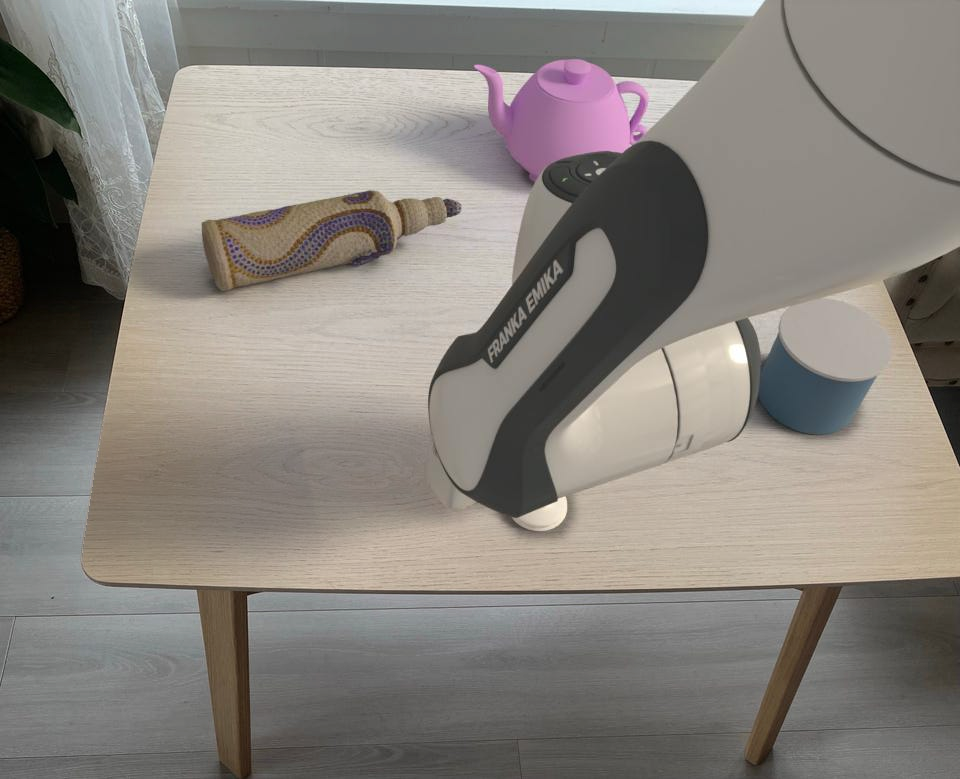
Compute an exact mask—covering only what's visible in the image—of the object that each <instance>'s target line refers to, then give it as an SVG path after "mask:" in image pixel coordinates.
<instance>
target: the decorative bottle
mask: <svg viewBox="0 0 960 779" xmlns="http://www.w3.org/2000/svg"><path fill="white" fill-rule="evenodd" d="M462 208H463V207H462V204H461V203H460V202H459V201H458V200H454V199H451V198H444V199H443V198H442V197H440V196H434V197H431V198H430V197H428V198H424V199H418V198H402V199H397V200H395V201H392V202H391V201H390V200H389V199H387V198H386V196H384V195H383V194H382V193H381V191H379V190H372V189H369V190H366V191H360V192H354V193H348V194H344V195H339V196H335V197H334V196H333V197H330V198H324V199H318V200H314V201H308V202H303V203H299V204H293V205H285V206H282V207H279V208H274V209H268V210H267V209H266V210H260V211H253V212H249V213H245V214H241V215H238V216H237V215H236V216H235V215H234V216H230V217H227V218H226V217H225V218H220V219H207V220H205V221H202V222H201V225H200V226H201V239H202V245H203V251H204V254H205V257H206V261H207V264H208V269H209V271H210V275H211V276H212V279H213V281H214V283H215V286H216V288H218V290H220V291H221V292H222V291H223V292H225V291H230V290H232V289H234V288H238V287H243V286H250V285H253V284H254V285H255V284H258V283H264V282H265V283H266V282H268V281H273V280H276V279H284V278H287V277H290V276H296V275H300V274H305V273H309V272H315V271H317V270H318V271H319V270H323V269H326V268H332V267H336V266H341V265H346V264H351V265H352V266H357V267H361V266H363V265H366V264H368V263H370V262H372V261H373V260H375V259H379V258H380V257H382V256H383V257H384V256H388V255H390V254H391V253H393V252H394V251H395V249H396V247H397V243H398V240H399V239H400V238H401V237H403V236H404V237H407V236H411V235H415V234H417V233H419V232H422V231H423V230H424V229H426V228H427V227H430V226H432V227H434V226H437V225H441V224H443V223H444V224H445V222H446V220H447V218H453V217H456V216H458V215H460V213H461V211H462Z"/></svg>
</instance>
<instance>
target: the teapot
mask: <svg viewBox="0 0 960 779" xmlns="http://www.w3.org/2000/svg"><path fill="white" fill-rule="evenodd" d="M473 67H474V69H476V71H478V72H479V73H480V74H481V76H483V77H484V78H485V80H486V83H487V86H488V99H487V112H488V118H489V120H490V123H491V126H492V127H493V128H494V130H495V131H496V132H497V133H499V134H500V135H501V136H502V138H503V142H504V145H505V147H506V149H507V151H508V152H509V154H510V156H511V157H512V158H513V159H514V160H515V162H517V163H518V164H519V165H520V166H521V167H522V168H523V169H524V170H525V171H527V172H528V173H529V175H528V177H529V179H530V180H531V181H532V182H534V183H535V181H536V179H537V178H538V176H539V175H540V173H541V172H542V171H543V170H544V169H545V168H546V167H547V166H548V165H550V164H551V163H554V162H556V161H558V160H560V159H563V158H567V157H570V156H575V155H579V154H585V153H591V152H598V151H611V152H619V153H623V152H624V151H625V150H626V149H628V148H629V147H630V146H632V145H634V144H635V143H636V142H637V141H638V140H639V139H640V138H641V137H642V136H643V135H644V134H645V133H646V132H647V131H648V130H647V128H646V127H645V125H644V124H640V123H641V121H642V119H643V118H644V116H645V114H646V112H647V109H648V106H649V94H648V92H647V89H645V87H644V86H643V85H642V84H640V83H638V82H635V81H632V80H627V81H626V80H625V81H620V82H618V83H616V82H615V80H614V79H613V78H612V76H611V75H610V74H609V73H608V72H607V71H606V70H605V69H604V68H601V67H600V66H599V65H596V64H594V63H591V62H587V61H586V60H583V59H579V58H571V59H570V58H569V59H559V60H553V61H551V62H549V63H546V64H544V65H542V66H541V67H539V69H537V70H536V71H535V72H534V73H533V74H532V75H531V76H530V77H529V78H528V80H526V81H525V83H524V84H523V85H522V86H521V87H520V89H519V90H518V92H517V93H516V94H515V96H514V98H513V99H512V101H511V103H510V105H508V104H507V103H506V102H505V101H504V84H503V79H502V77H501V75H500V73H499V72H498V71H497V70H495V69H493V67H492V68H491V67H490V66H486V65H483V64H474V65H473ZM628 93H629V94H635V95H637V96H639V102H638V105H637V107H636V109H635V111H634V113H633V115H632V116H631V118H630V117H629V113H628V109H627V106H626V104H625V101H624V98H623V96H622V94H628ZM635 133H638V134H635Z"/></svg>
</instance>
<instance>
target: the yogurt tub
mask: <svg viewBox="0 0 960 779" xmlns="http://www.w3.org/2000/svg"><path fill="white" fill-rule="evenodd" d="M891 341H892V340H891V339H890V336H889V334H888V333H887V331H886V330H885V328H884V327H883V325H882V324H881V323H880V322H879V321H877V319H875V317H874V316H871V314H869V313H868V312H866V311H865V310H863V309H861V308H859V307H857V306H856V305H853V304H851V303H848V302H845V301H842V300H838V299H834V298H828V297H827V298H826V297H823V298H819V299H815V300H812V301H808V302H804V303H800V304H796V305H793V306H789V307H786V309H785V311H784V312H783V313H782V315H781V317H780V319H779V323H778V333H777V335H776V337H775V340H774V342H773V344H772V346H771V348H770V351H769V352H768V355H767V358H766V360H765V362H764V364H763V367H762V369H761V370H760V382H759V390H758V395H757V397H758V400H759V402H760V404H761V405H762V407H763V408H764V409H765V411H766V412H767V413H768V414H769V415H770V416H771V417H772V418H773V419H775V421H777V422H778V423H780V424H782V425H784V426H785V427H787V428H789V429H791V430H793V431H795V432H799V433H803V434H809V435H814V436H815V435H816V436H817V435H818V436H820V435H821V436H822V435H829V434H834V433H837V432H839V431H841V430H843V429H844V428H846V427H848V425H850V423H851V421H852V420H853V418H854V417H855V415H856V413H857V411H859V409H860V406H861V405H862V403H863V401H864V399H865V398H866V396H867V394H868V393H869V391H870V389H871V388H872V386H873V384H874V383H875V381H876V379H877V377H878V376H879V375H880V374H882V373H883V372H884V371H885V370H886V369H887V367H888V366H889V364H890V362H891V360H892V356H893V346H892V342H891Z"/></svg>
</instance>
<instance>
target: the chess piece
mask: <svg viewBox="0 0 960 779" xmlns="http://www.w3.org/2000/svg"><path fill="white" fill-rule="evenodd" d="M567 512H568V500H567V496H565V497H562V498H559V499H558V501H557V502H555V503H552V504H550V505H547V506H545V507H542V508H540V509H537V510H535V511H533V512H530V513H528V514H525V515H523V516H521V517H518V518H513V517H511V519H512V520H513V521H514V522H515V523H516V524H517V525H518V526H520V527H522V528H524V529H526V530H529V531H533V532H546V531H550V530H553V529H555V528H557V527H558V526H560V524H561V523H562V522H563V521H564V520H565V518H566V516H567Z"/></svg>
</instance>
